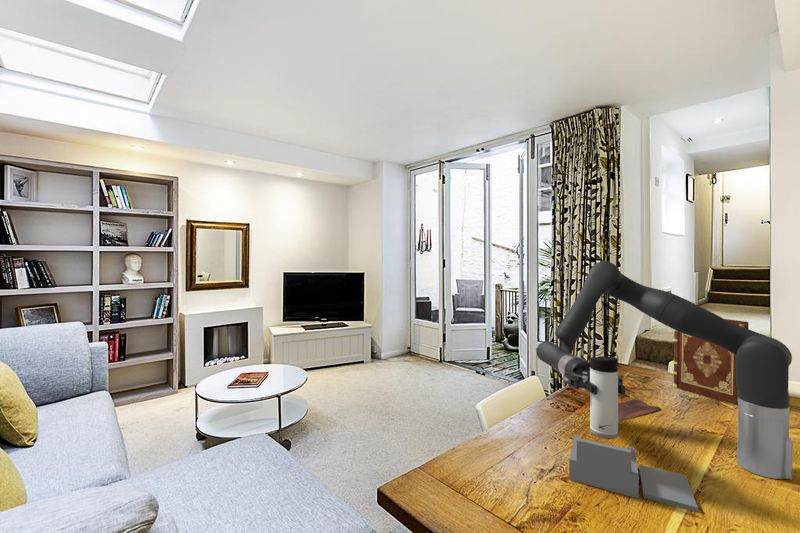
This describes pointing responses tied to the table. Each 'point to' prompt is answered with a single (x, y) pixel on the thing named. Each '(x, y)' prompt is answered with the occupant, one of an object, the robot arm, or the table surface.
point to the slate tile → (667, 487)
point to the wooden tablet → (634, 409)
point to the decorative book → (705, 367)
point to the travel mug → (604, 397)
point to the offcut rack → (604, 466)
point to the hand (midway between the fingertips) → (609, 390)
